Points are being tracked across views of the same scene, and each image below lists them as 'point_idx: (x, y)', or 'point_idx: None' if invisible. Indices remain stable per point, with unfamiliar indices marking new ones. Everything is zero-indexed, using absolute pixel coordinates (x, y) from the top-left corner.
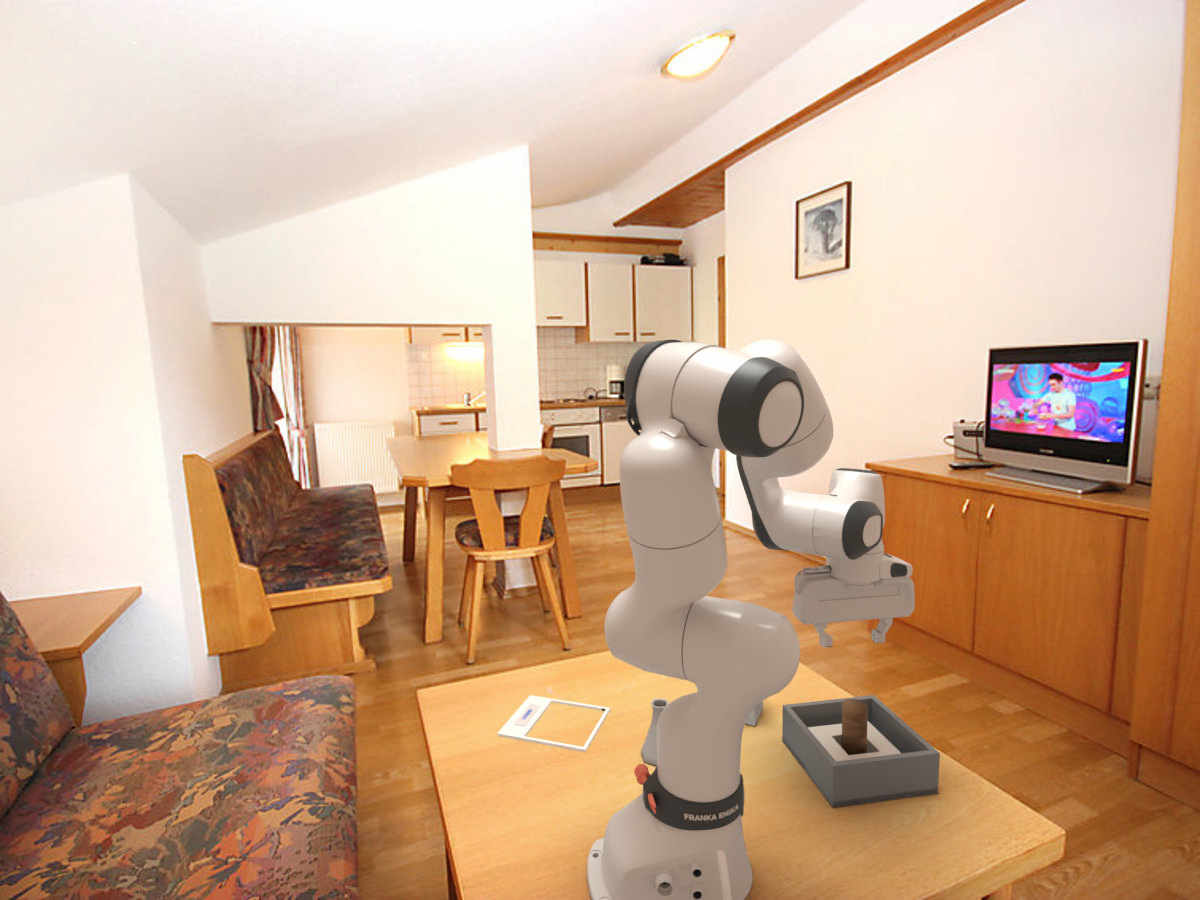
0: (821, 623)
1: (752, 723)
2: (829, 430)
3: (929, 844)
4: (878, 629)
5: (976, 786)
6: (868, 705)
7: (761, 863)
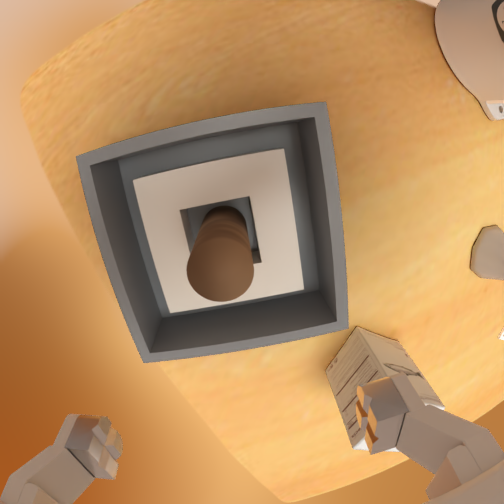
0: (491, 463)
1: (361, 329)
2: None
3: (179, 37)
4: (82, 472)
5: (51, 177)
6: (159, 343)
7: (423, 33)
